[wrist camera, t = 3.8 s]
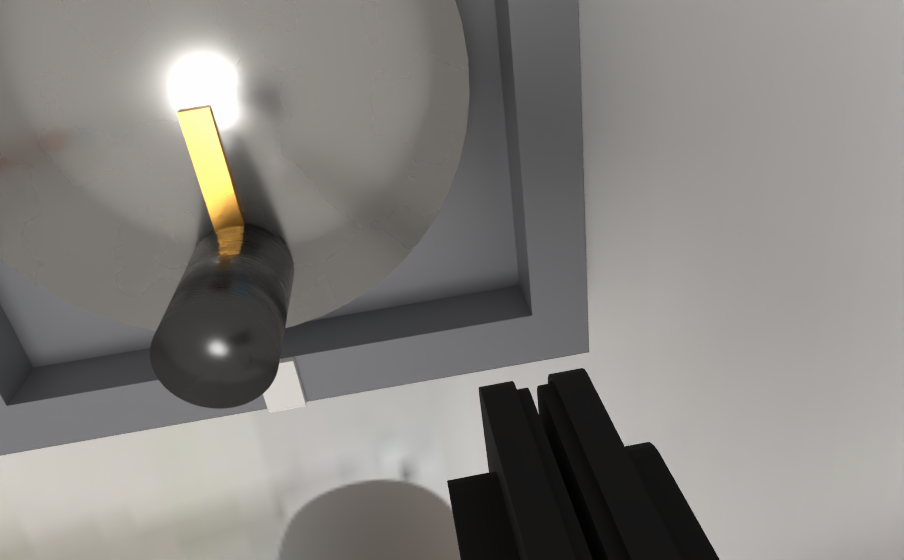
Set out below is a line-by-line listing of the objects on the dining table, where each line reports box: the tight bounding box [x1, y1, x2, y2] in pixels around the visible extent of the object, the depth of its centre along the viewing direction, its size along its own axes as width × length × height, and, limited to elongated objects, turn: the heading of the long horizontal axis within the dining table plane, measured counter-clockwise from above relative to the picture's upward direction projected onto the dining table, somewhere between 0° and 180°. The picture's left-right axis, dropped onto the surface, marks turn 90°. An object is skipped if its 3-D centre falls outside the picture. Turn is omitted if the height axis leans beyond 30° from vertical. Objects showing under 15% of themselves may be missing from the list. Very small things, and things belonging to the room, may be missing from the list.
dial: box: [0, 0, 470, 409], centre depth 16 cm, size 14×14×6 cm
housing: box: [0, 0, 589, 455], centre depth 19 cm, size 20×20×3 cm
